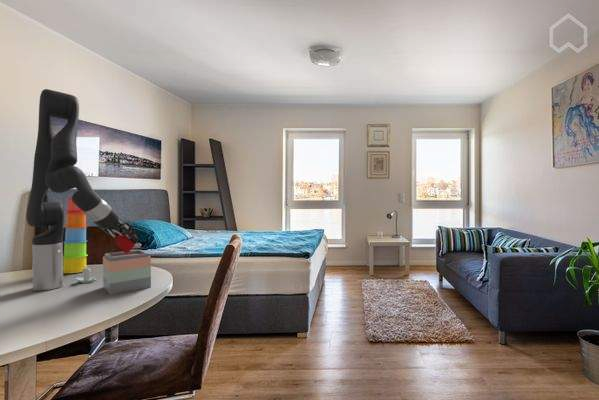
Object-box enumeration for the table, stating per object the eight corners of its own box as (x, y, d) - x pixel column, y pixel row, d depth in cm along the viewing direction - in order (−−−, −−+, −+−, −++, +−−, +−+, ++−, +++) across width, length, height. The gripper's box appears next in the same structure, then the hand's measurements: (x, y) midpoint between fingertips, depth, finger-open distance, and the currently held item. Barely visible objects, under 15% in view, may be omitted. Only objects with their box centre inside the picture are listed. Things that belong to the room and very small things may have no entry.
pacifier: (77, 281, 131) (75, 284, 126) (77, 266, 131) (75, 269, 126) (98, 279, 135) (96, 282, 129) (98, 264, 135) (96, 267, 130)
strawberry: (115, 252, 123) (115, 227, 123) (137, 251, 127) (137, 226, 126) (115, 255, 118) (115, 228, 118) (137, 253, 121) (137, 227, 121)
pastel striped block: (109, 294, 113) (109, 258, 113) (103, 287, 122) (102, 253, 122) (150, 287, 123) (150, 253, 122) (142, 280, 132) (141, 249, 131)
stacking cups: (60, 271, 148) (59, 197, 147) (86, 267, 155) (85, 197, 154) (62, 275, 140) (61, 198, 140) (90, 271, 147) (89, 198, 146)
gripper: (121, 205, 112) (149, 235, 123) (94, 205, 118) (123, 233, 129) (107, 221, 107) (137, 250, 118) (80, 220, 113) (111, 248, 124)
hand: (130, 241), depth 124 cm, fingers closed on strawberry, 6 cm apart
